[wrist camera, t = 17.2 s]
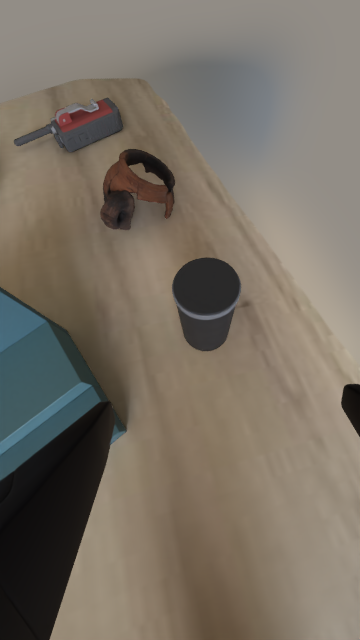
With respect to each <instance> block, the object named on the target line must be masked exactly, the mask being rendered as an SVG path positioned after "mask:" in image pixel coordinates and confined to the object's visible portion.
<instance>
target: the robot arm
mask: <svg viewBox="0 0 360 640" xmlns="http://www.w3.org/2000/svg"><path fill="white" fill-rule="evenodd" d="M341 405H342V408H343V410H344V412H345V413H346V415H347V417H348V418H349V420H350V422H351V423H352V425H353V427H354V428H355V430H356V432H357V433H358V435H359V437H360V385H359V384H347V385H345V386H344V389H343V395H342V401H341ZM114 425H115V416H114V412H113V408H112V404H111V402H109V401H103V402H99V403H98V404H96V405H95V406H94V407H93V408H91V409H90V410H89V411H88V412H86V413H85V414H84V415H83V416H81V417H80V418H79V419H77V420H76V421H75V422H74V423H72V424H71V425H70V426H69V427H67V428H66V429H65V430H64V431H62V432H61V433H60V434H59V435H57V436H56V437H55V438H54V439H52V440H51V441H50V442H49V443H47V444H46V445H45V446H44V447H42V448H41V449H40V450H39V451H37V452H36V453H35V454H34V455H32V456H31V457H30V458H29V459H27V460H26V461H25V462H24V463H22V464H21V465H20V466H18V467H17V468H16V469H15V471H12V472H11V473H10V474H8V475H7V476H6V477H5V478H3V479H2V480H1V481H0V640H49V639H50V636H51V633H52V630H53V627H54V624H55V621H56V618H57V615H58V611H59V608H60V605H61V602H62V599H63V596H64V593H65V590H66V587H67V584H68V580H69V577H70V574H71V571H72V568H73V565H74V562H75V559H76V556H77V553H78V549H79V546H80V543H81V540H82V537H83V534H84V531H85V528H86V525H87V522H88V518H89V515H90V512H91V509H92V506H93V503H94V500H95V497H96V494H97V491H98V487H99V484H100V481H101V478H102V475H103V472H104V469H105V465H106V462H107V458H108V453H109V449H110V444H111V439H112V434H113V430H114Z"/></svg>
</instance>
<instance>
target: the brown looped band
mask: <svg viewBox="0 0 360 640" xmlns="http://www.w3.org/2000/svg"><path fill="white" fill-rule="evenodd" d="M138 163H142V164H143V165H144V167H145V172H146V173H148V172H151V173H154V174H155V175H156V176H158V177H159V178H160V179H161V180H163V181H164V184H165V185H166V186H165V185H155V184H153V183H150V182H148V181H146V180H144V179H141V178H139V177H138V176H137V175H136V174H135V173H134V172H133V171H132V170H131V169H130V168H129V167H128V166H130V165H134V164H138ZM174 185H175V179H174V176H173V174H172V172H171V171H170V170H169V169H168V167H167V166H166V165H165V164H164V163H163V162H162V161H160V160H159V159H158V158H156V157H155V156H153V155H151V154H149V153H147V152H144V151H142V150H137V149H128V150H125V151H124V152H122V153H121V154H120V156H119V161H118V162H116V163H115V164H114V165H112V166H111V168H110V169H109V170H108V171H107V174H106V176H105V180H104V183H103V191H104V192H103V193H104V201H105V204H104V205H103V207H102V209H101V214H100V215H101V219H102V220H103V222H104V224H105V225H106V226H107V227H109V228H112V229H119V228H120V229H123V230H129V229H130V224H131V218H132V215H133V212H134V209H135V205H134V198H133V196H132V195H131V194H130V193H136V194H137V199H138V200H144V201H148V202H157V203H165V204H166V212H165V218H166V219H167V218H168V217H169V216H170V215H171V211H172V210H173V208H172V207H173V204H174V193H173V187H174Z"/></svg>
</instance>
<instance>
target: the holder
mask: <svg viewBox="0 0 360 640" xmlns="http://www.w3.org/2000/svg"><path fill="white" fill-rule="evenodd" d="M172 292H173V297H174V300H175V303H176V304H177V308H178V312H179V316H180V320H181V324H182V329H183V333H184V337H185V339H186V341H187V342H188V343H189V344H190V345H191V346H192V347H194V348H195V349H198V350H201V351H211V350H214V349H216V348H218V347H220V346H221V345H222V344H223V343H224V342H225V340H226V338H227V335H228V331H229V328H230V324H231V320H232V317H233V313H234V309H235V305H236V304H237V302H238V299H239V296H240V292H241V283H240V279H239V276H238V275H237V273H236V272H235V270H234V269H233V268H232V267H231V266H230V265H229V264H227V263H226V262H224V261H221V260H219V259H215V258H199V259H195V260H193V261H190V262H188V263H187V264H185V265H184V266H183V267H182V268H181V269H180V270H179V271H178V272H177V274H176V276H175V278H174V280H173V284H172Z"/></svg>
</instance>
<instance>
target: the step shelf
mask: <svg viewBox="0 0 360 640" xmlns="http://www.w3.org/2000/svg"><path fill="white" fill-rule="evenodd" d="M103 401H109V400H108V399H107V397H106V395H105V394H104V392H103V390H102V389H101V387H100V385H99V384H98V382H97V380H96V379H95V377H94V375H93V374H92V372H91V370H90V369H89V367H88V365H87V364H86V362H85V360H84V359H83V357H82V355H81V354H80V352H79V350H78V349H77V347H76V345H75V344H74V342H73V340H72V339H71V337H70V335H69V334H68V332H67V330H65V329H64V328H62V327H61V326H59V325H58V324H56V323H55V322H53V321H51V320H50V319H48V318H47V317H45V316H44V315H42V314H41V313H39V312H38V311H36V310H35V309H33V308H32V307H30V306H29V305H27V304H25V303H24V302H22V301H21V300H19V299H18V298H16V297H15V296H13V295H12V294H10V293H9V292H7V291H6V290H4V289H2V288H1V287H0V481H1V480H2V479H3V478H5V477H6V476H7V475H8V474H10V473H11V472H12V471H15V469H16V468H17V467H18V466H20V465H21V464H22V463H24V462H25V461H26V460H27V459H29V458H30V457H31V456H32V455H34V454H35V453H36V452H37V451H39V450H40V449H41V448H42V447H44V446H45V445H46V444H47V443H49V442H50V441H51V440H52V439H54V438H55V437H56V436H57V435H59V434H60V433H61V432H62V431H64V430H65V429H66V428H67V427H69V426H70V425H71V424H72V423H74V422H75V421H76V420H77V419H79V418H80V417H81V416H83V415H84V414H85V413H86V412H88V411H89V410H90V409H91V408H93V407H94V406H95V405H96V404H98V403H99V402H103ZM112 408H113V407H112ZM113 412H114V416H115V425H114V430H113V434H112V439H111V444H112V443H113V442H114V441H115V440H117V439H118V438H119V437H120V436H121V435H123V434H124V433H125V432H126V429H125V427H124V425H123V424H122V422H121V420H120V419H119V417H118V415H117V414H116V412H115V410H114V409H113ZM111 444H110V445H111Z"/></svg>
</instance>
